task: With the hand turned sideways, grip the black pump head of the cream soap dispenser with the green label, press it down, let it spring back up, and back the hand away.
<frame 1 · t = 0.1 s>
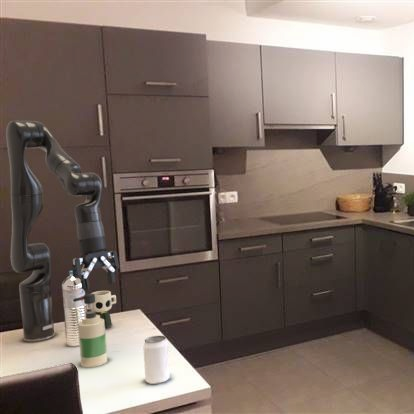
hand: (99, 287, 171), 22 cm above the table, tool pointing down, fingers open, 8 cm apart
dispenser: (94, 362, 168), on the table
can: (157, 380, 155), on the table
character mug: (102, 328, 201), on the table
pump head: (86, 301, 165), point 20 cm above the table, slide at 0.1 cm
water bottle: (77, 343, 185), on the table
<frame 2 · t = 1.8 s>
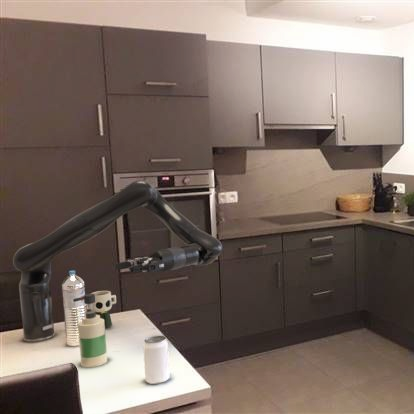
hand: (123, 268, 174), 28 cm above the table, tool horizontal, fingers open, 8 cm apart
nothing on the table moved.
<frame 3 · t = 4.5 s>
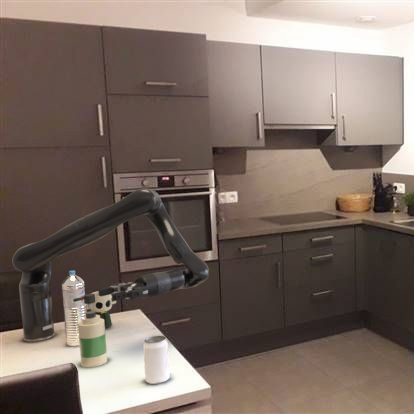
hand: (105, 295, 170), 20 cm above the table, tool horizontal, fingers open, 8 cm apart
nothing on the table moved.
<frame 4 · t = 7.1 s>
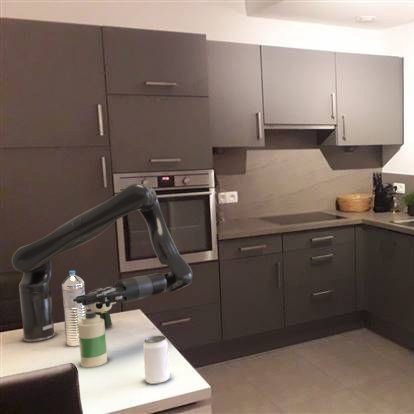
hand: (79, 301, 164), 20 cm above the table, tool horizontal, fingers closed on pump head, 3 cm apart
pump head: (86, 301, 165), point 19 cm above the table, slide at 0.1 cm, touching gripper
everything else where it was.
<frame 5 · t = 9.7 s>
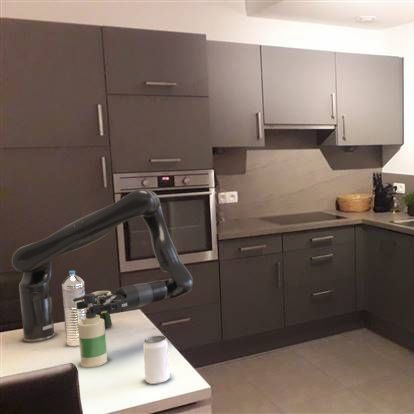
hand: (83, 308, 164), 18 cm above the table, tool horizontal, fingers open, 7 cm apart
pump head: (86, 301, 165), point 20 cm above the table, slide at 0.1 cm
everything else where it was.
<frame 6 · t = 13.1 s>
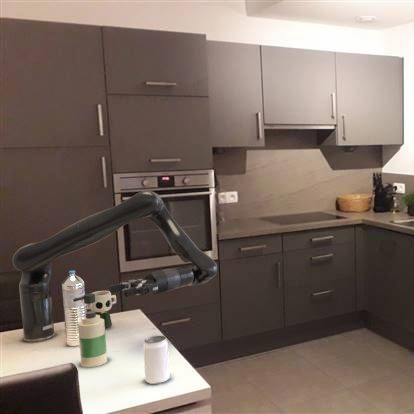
hand: (116, 291, 172), 21 cm above the table, tool horizontal, fingers open, 8 cm apart
nothing on the table moved.
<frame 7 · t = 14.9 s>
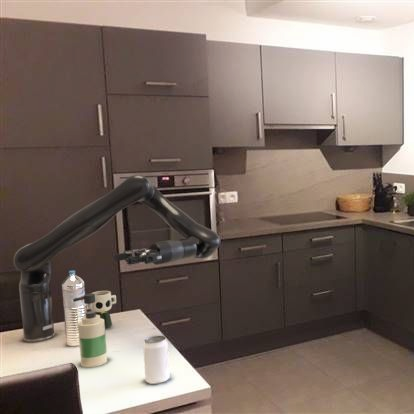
hand: (120, 259, 174), 30 cm above the table, tool horizontal, fingers open, 8 cm apart
nothing on the table moved.
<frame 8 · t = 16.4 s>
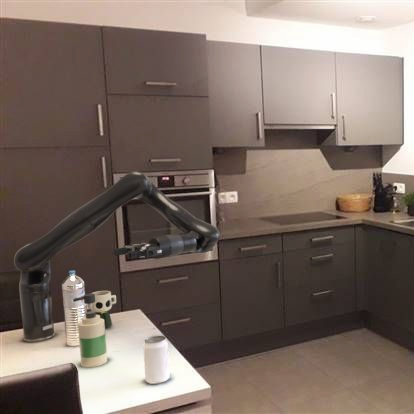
hand: (120, 254, 174), 32 cm above the table, tool horizontal, fingers open, 8 cm apart
nothing on the table moved.
at the end: pump head pushed in 1.4 cm at the most during the clip and back out by the end; water bottle moved 0.2 cm from its start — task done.
